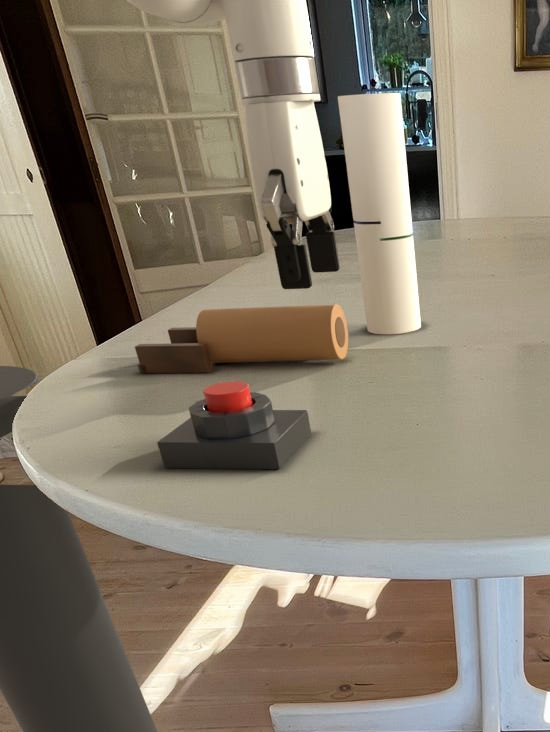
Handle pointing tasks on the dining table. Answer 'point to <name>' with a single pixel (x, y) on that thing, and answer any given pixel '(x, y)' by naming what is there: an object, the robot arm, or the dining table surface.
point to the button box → (236, 437)
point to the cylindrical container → (381, 210)
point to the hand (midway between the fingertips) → (312, 279)
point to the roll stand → (175, 354)
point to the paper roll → (274, 333)
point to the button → (227, 397)
